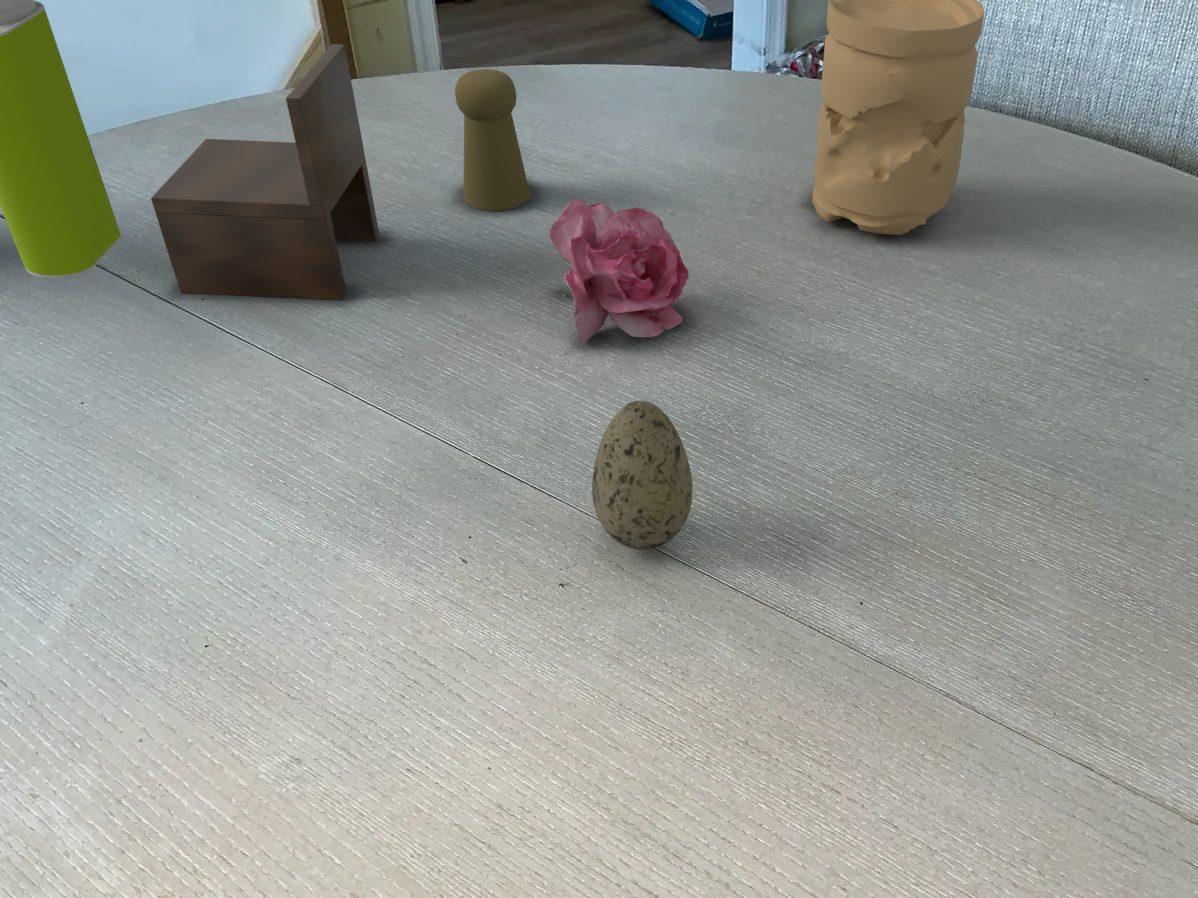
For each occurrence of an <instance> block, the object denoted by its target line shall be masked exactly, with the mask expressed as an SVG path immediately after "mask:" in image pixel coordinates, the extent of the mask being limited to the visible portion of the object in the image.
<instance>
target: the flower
mask: <svg viewBox="0 0 1198 898" xmlns="http://www.w3.org/2000/svg"><path fill="white" fill-rule="evenodd" d="M567 202H568V203H567V204H566V206H565V207H564V208H563V210H562V212H561V214H560V215H559V216H558V217H557V218H556V219H555V221H554V222H553V223H552V226H551V228H550V231H549V239H550V240H551V242H552V244H553V247H554V249H556V251H557V252H558V253H559V255H560V257H561V258H562V260H564V261H566V262H568V263H570V266H571V268H572V269H570V270H568V271H567V272H565V273H564V274H563V277H564V279H563V282H564V283H565V284H566V285H567V286H568V289H569V290H570V291H568V292H565V293H564V296H566V295H568V294H571V296H572V299H573V303H574V304H573V305H574V311H573V316H574V319H575V325H576V330H577V334H578V336H579V339H580V341H581V343H583V344H586V343H587V342H588V341H589V340H590V339H591V338H592V337H593V336H594V335H595V334H596V333H597V332H599V330H600V329H601V328H603V326H604V325H605V322H606V320H607V318H608V316H609V317H610V320H611V321H612V322H613V323H614V324H615V325H616V326H617V327H619V328H620V329H621V330H622V331H624V332H625V333H626V334H627V335H629V336H631V337H635V338H655V337H658V336H660V335H662V333H663V332H664V331H667V330H669V331H670V330H671V329H673V328H675V327H677V326H678V325H680V324H682V323H683V318H682V315H681V314H679V313H678V312H677V311H676V310H675V309H674V308H673V307H672V306H671V304H673V303H674V302H676V301H677V300H678V299H679V298H680V296H681V295H682V293H683V292H684V291H683V288H684V287H685V286H686V283H687V281H688V280H689V278H690V277H689V275H690V273H689V269H688V268H687V267H686V265H685V264H684V261H683V259H682V257H681V252H680V249H679V248H678V246H677V245H676V243H675V241H674V239H673V237H672V235H671V233H670V232H669V231H668V230H667V229H666V228H665V227H664V223H663V221H662V220H661V218H660V217H658V216H657V215H656V214H655V213H654V212H652V211H649V210H646V209H645V208H643V207H639V206H635V207H630V208H624V209H619V210H617V211H616V212H615V211H614V210H613V209H612V208H611V206H610V205H608V204H606V203H605V202H603V201H601V202H597V203H592V204H589V205H588V204H587V203H586V202H585V201H584V199H583V198H581V197H579V198H576V199H572V200H569V201H567Z"/></svg>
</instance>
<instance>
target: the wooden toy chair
mask: <svg viewBox="0 0 1198 898" xmlns="http://www.w3.org/2000/svg"><path fill="white" fill-rule="evenodd" d="M348 62H349V61H348V55H347V50H346V45H345V44H340V43H339V44H338V43H332V44H331V45H330V46H329V47H328V48H327V50H326V51H325V52H324V53H323V54H322V55H321V57H320V58H319V59H318V60H317V61H316V62H315V64H314V65H312V67H311V68H310V69H309V71H308V72H307V73H306V74H305V75H304V76H303V77H302V79H301V80H300V81H299V82H298V83H297V84H296V85H295V86H294V88H293V89H292V90H291V91H290V92H289V94H288V95H287V96H286V97H285V101H286V102H285V103H286V107H287V111H288V115H289V120H290V123H291V128H292V133H293V137H294V141H295V142H292V141H269V140H265V141H264V140H245V139H244V140H243V139H222V138H221V139H219V138H205V139H204V140H203V141H202V143H200V145H199V146H198V147H197V148H196V149H195V150H194V151H193V152H192V153H191V154H190V155H189V156H188V158H187V159H185V161H184V162H183V163H182V164H181V165H180V166H178V168H177V169H176V170H175V172H174V173H172V175H171V176H170V177H169V178H168V179H167V180H166V181H165V182H164V184H162V185H161V187H160V188H159V189H158V190H157V191H156V192H155V193H154V194H153V195H152V196H151V197H150V200H151V203H152V206H153V210H154V213H155V216H156V219H157V223H158V226H159V229H160V232H161V236H162V238H163V242H164V244H165V248H166V251H167V254H168V258H169V260H170V263H171V267H172V269H173V273H174V277H175V279H176V282H177V285H178V288H179V292H180V293H181V294H198V295H199V294H201V295H220V296H221V295H224V296H227V295H228V296H244V297H245V296H247V297H266V298H267V297H268V298H269V297H270V298H288V299H289V298H290V299H291V298H292V299H309V300H310V299H312V300H332V301H344V299H345V297H346V295H347V294H348V292H347V287H346V282H345V277H344V273H343V267H342V262H341V258H340V254H339V249H338V244H337V241H359V242H377V240H378V239H379V237H380V231H379V224H378V219H377V214H376V209H375V203H374V199H373V193H372V188H371V181H370V176H369V170H368V165H367V161H366V154H365V149H364V143H363V136H362V132H361V127H360V121H359V116H358V110H357V104H356V99H355V94H354V89H353V88H354V87H353V83H352V78H351V73H350V66H349V63H348Z"/></svg>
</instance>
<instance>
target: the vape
mask: <svg viewBox="0 0 1198 898" xmlns="http://www.w3.org/2000/svg"><path fill="white" fill-rule="evenodd" d="M103 180H104V179H103V177H102V175H101V172H100V169H99V166H98V162H97V160H96V157H95V154H94V150H93V148H92V144H91V142H90V139H89V136H88V133H87V130H86V127H85V124H84V121H83V118H82V115H81V112H80V108H79V107H78V103H77V101H76V98H75V95H74V91H73V89H72V85H71V82H70V80H69V77H68V74H67V71H66V67H65V65H64V61H63V58H62V56H61V53H60V50H59V47H58V44H57V41H56V38H55V35H54V31H53V29H52V27H51V23H50V20H49V16H48V14H47V12H46V8H45V5H44V4H43V3H42V2H40V1H37V0H0V209H1V212H2V215H3V217H4V219H5V221H6V224H7V227H8V230H9V232H10V234H11V236H12V240H13V242H14V244H15V246H16V249H17V251H18V254H19V257H20V259H21V261H22V264H23V267H24V269H25V271H26V272H27V273H28V274H30V275H32V276H35V277H39V278H40V277H41V278H46V279H47V278H49V279H60V278H61V279H63V278H71V277H76V276H79V275H82V274H86V273H89V272H90V271H92V270H93V269H94V268H95V267H96V266H97V265H98V264H99V263H100V262H101V261H102V260H103V259H104V257H105V256H106V255H108V253H109V252H111V250H112V249H114V247H116V245H117V244H119V242H120V241H121V240H122V234H121V231H120V228H119V226H118V222H117V219H116V216H115V213H114V210H113V207H112V205H111V201H110V199H109V195H108V193H107V189H106V187H105V184H104V181H103Z"/></svg>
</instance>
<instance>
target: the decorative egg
mask: <svg viewBox="0 0 1198 898" xmlns="http://www.w3.org/2000/svg"><path fill="white" fill-rule="evenodd" d="M691 471H692V470H691V467H690V462H689V459H688V456H687V452H686V449H685V447H684V444H683V442H682V439H681V436H680V435H679V432H678V431H677V429H676V427H675V425H674V424H673V422H672V421H671V419H670V418H669V416H668V415H667V414H666V413H665V412H664V410H663V409H661V408H660V407H659V406H658V405H656V404H655V403H652V402H650V401H647V400H635V401H632V402H629V403H627V404H626V405H624V406H623V407H621V408H620V409H619V410H618V411H617V413H616V414H615V415H614V416H613V418H612V419H611V421H610V422H609V424H608V425H607V427H606V429H605V431H604V433H603V435H602V438H601V441H600V444H599V447H598V449H597V452H596V456H595V461H594V466H593V471H592V480H591V481H592V482H591V493H592V494H591V495H592V502H593V507H594V511H595V514H596V517H597V519H598V522H599V523H600V526H601V527H602V528H603V530H604V531H605V532H606V533H607V534H608V536H610V537H611V538H612V539H613V540H615V541H616V542H617V543H619V544H620V545H622V546H625V547H627V548H630V549H633V550H652V549H656V548H659V547H662V546H663V545H665V544H667V543H668V542H670V541H671V540H673V539H674V538H675V537H676V536H677V535H678V534H679V533H680V531H681V530H682V528H683V527H684V525H685V524H686V522H687V520H688V518H689V515H690V512H691V508H692V504H693V503H692V502H693V479H692V478H693V477H692V472H691Z"/></svg>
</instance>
